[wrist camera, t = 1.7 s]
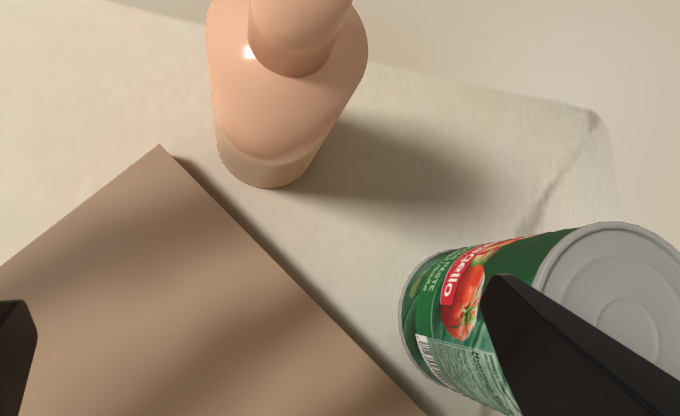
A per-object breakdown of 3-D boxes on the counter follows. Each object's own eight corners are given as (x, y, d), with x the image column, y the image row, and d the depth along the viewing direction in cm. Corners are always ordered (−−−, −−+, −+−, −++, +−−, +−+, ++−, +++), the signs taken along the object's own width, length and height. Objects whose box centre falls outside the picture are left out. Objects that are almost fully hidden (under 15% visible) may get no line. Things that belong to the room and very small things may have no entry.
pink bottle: (333, 146, 24) (446, -17, 11) (265, 208, 22) (309, 99, 10) (268, 79, 24) (308, -165, 11) (195, 136, 22) (144, -73, 9)
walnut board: (426, 419, 22) (440, 428, 21) (248, 661, 18) (249, 692, 17) (164, 153, 22) (159, 143, 20) (-81, 345, 18) (-109, 349, 16)
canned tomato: (430, 225, 25) (574, 177, 14) (536, 288, 26) (743, 286, 15) (373, 351, 22) (496, 402, 12) (491, 414, 23) (700, 513, 13)
